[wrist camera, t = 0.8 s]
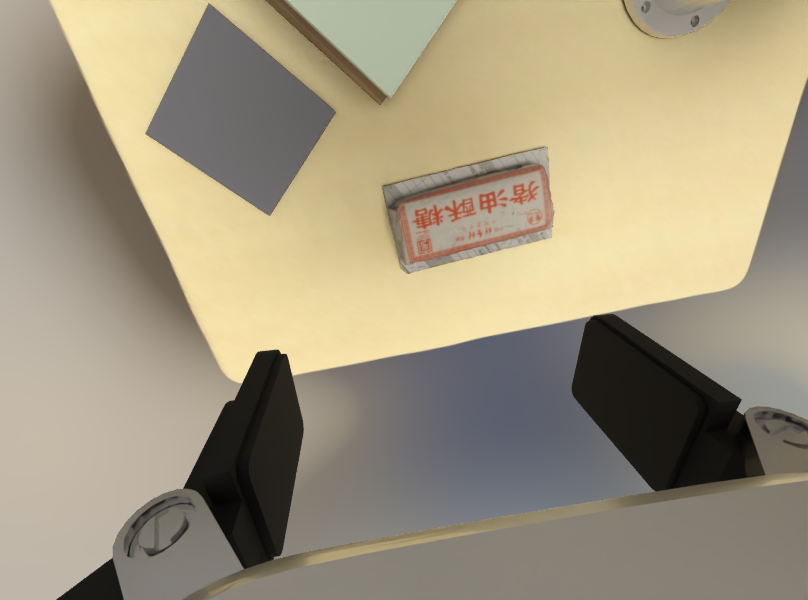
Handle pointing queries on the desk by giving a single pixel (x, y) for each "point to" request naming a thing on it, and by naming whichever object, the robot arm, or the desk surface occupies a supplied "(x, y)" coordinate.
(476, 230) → the packaged product
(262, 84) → the mat
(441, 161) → the desk surface
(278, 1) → the box
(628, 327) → the robot arm
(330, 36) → the lid
